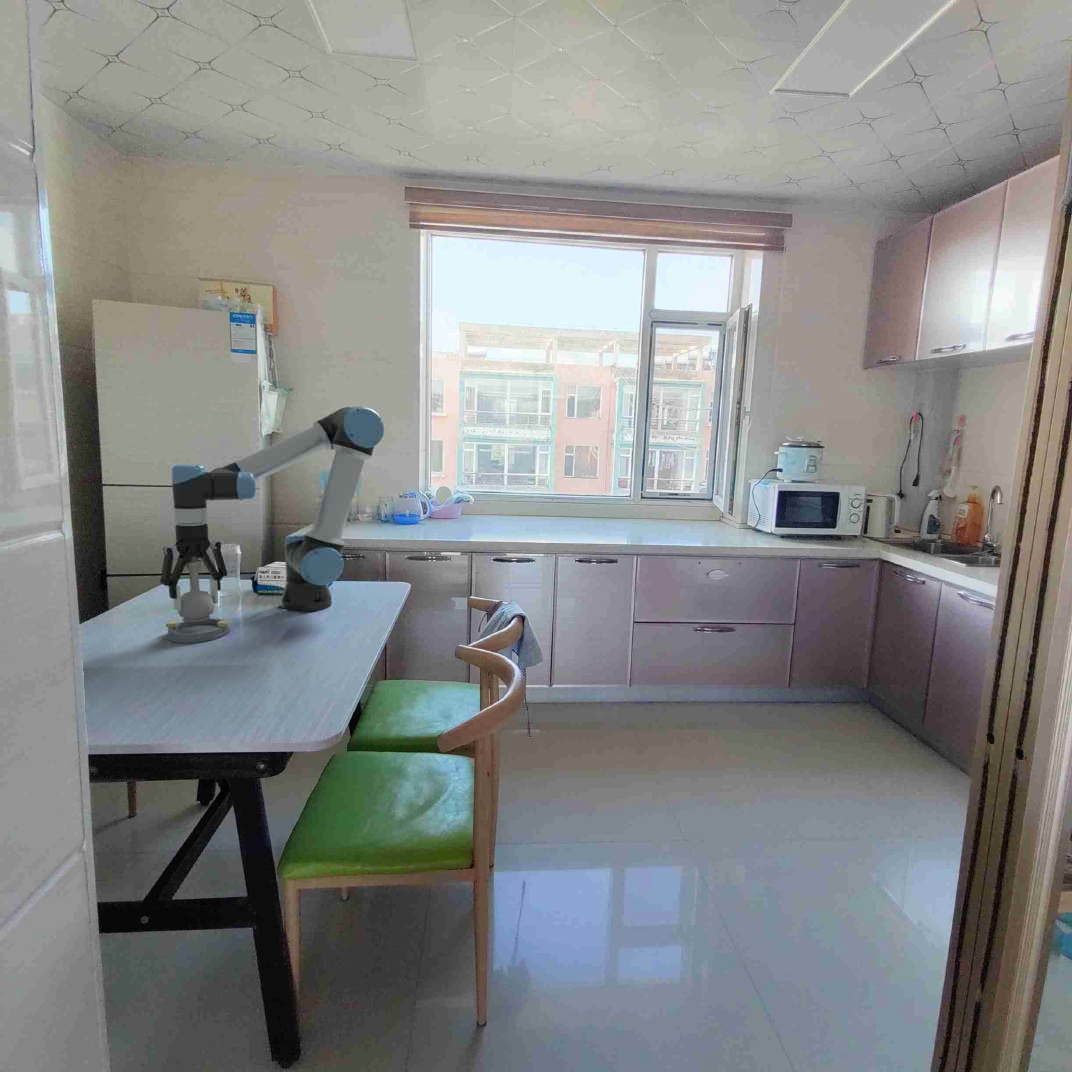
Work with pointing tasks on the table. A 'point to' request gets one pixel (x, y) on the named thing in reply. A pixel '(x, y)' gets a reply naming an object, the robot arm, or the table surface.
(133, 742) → the table surface
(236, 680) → the table surface
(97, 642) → the table surface
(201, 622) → the grey flat ring
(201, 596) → the potion bottle
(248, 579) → the table surface
